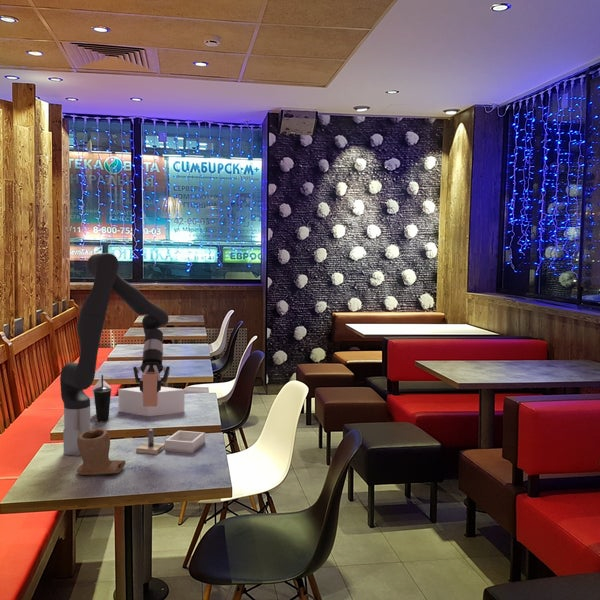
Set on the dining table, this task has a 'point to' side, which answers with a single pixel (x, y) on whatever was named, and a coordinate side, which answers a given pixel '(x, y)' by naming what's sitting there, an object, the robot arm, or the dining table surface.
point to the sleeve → (150, 389)
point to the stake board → (150, 448)
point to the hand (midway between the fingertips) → (150, 391)
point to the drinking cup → (102, 402)
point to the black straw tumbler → (99, 384)
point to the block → (167, 404)
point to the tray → (185, 441)
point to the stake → (150, 438)
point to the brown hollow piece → (97, 453)
